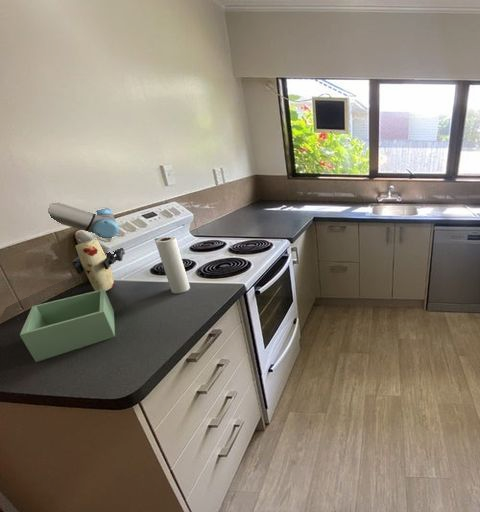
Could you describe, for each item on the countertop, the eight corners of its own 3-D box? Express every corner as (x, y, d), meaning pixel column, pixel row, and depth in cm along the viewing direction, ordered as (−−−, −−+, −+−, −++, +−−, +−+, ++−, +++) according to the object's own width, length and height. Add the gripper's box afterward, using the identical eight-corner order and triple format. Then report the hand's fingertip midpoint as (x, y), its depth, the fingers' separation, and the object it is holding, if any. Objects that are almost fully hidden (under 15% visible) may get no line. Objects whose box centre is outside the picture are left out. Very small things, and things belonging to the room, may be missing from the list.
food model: (111, 293, 110) (91, 244, 103) (89, 296, 108) (66, 246, 100) (121, 282, 119) (103, 236, 111) (101, 284, 116) (81, 238, 109)
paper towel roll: (191, 290, 113) (176, 239, 104) (173, 295, 109) (156, 242, 101) (188, 284, 118) (173, 234, 109) (170, 288, 114) (154, 237, 106)
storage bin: (45, 330, 89) (32, 306, 86) (114, 311, 99) (104, 288, 95) (35, 362, 77) (19, 334, 73) (114, 336, 86) (103, 311, 83)
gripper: (138, 252, 130) (129, 271, 111) (78, 261, 120) (58, 283, 102) (133, 237, 127) (123, 253, 109) (71, 244, 117) (49, 264, 99)
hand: (92, 268), depth 105 cm, fingers closed on food model, 7 cm apart
